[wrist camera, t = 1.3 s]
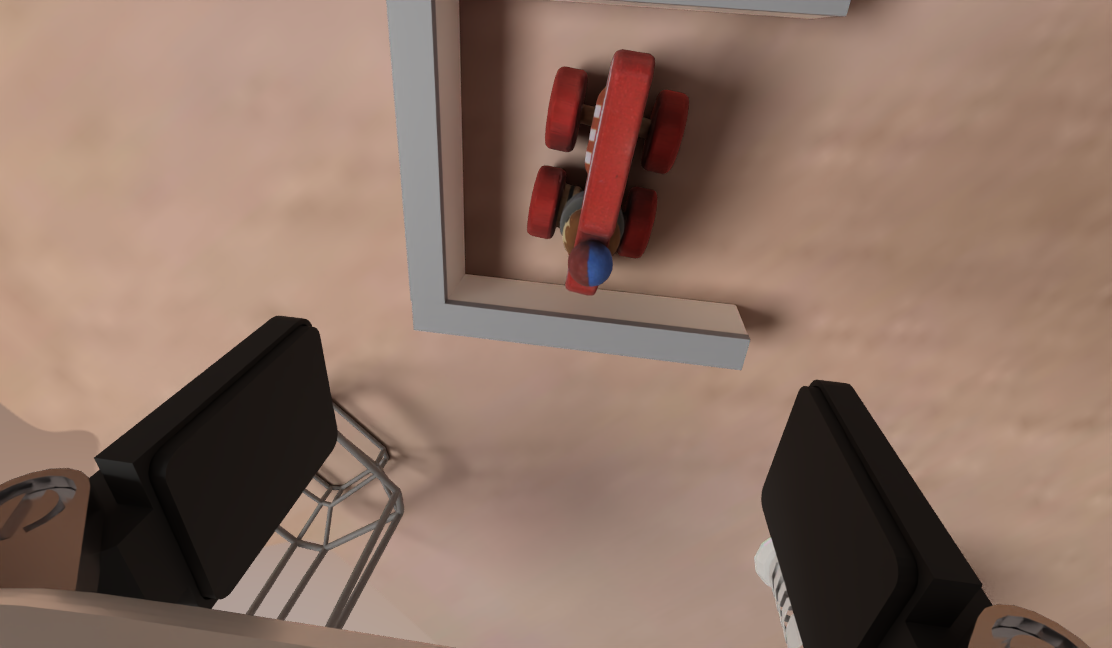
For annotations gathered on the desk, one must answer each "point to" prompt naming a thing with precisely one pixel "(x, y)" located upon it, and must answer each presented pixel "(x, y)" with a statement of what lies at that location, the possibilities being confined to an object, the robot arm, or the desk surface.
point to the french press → (777, 590)
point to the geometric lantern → (395, 500)
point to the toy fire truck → (605, 166)
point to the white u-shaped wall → (438, 215)
